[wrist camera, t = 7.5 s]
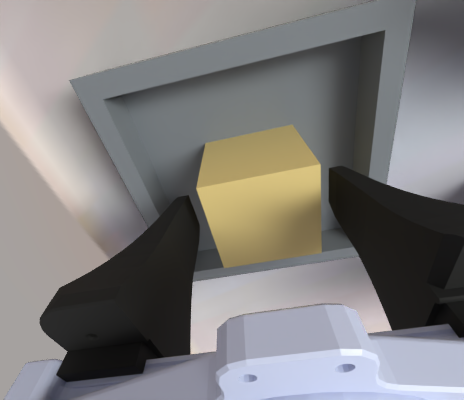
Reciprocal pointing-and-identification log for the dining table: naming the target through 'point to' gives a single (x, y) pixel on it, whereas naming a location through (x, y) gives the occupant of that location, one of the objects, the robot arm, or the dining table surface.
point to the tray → (257, 110)
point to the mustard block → (262, 196)
